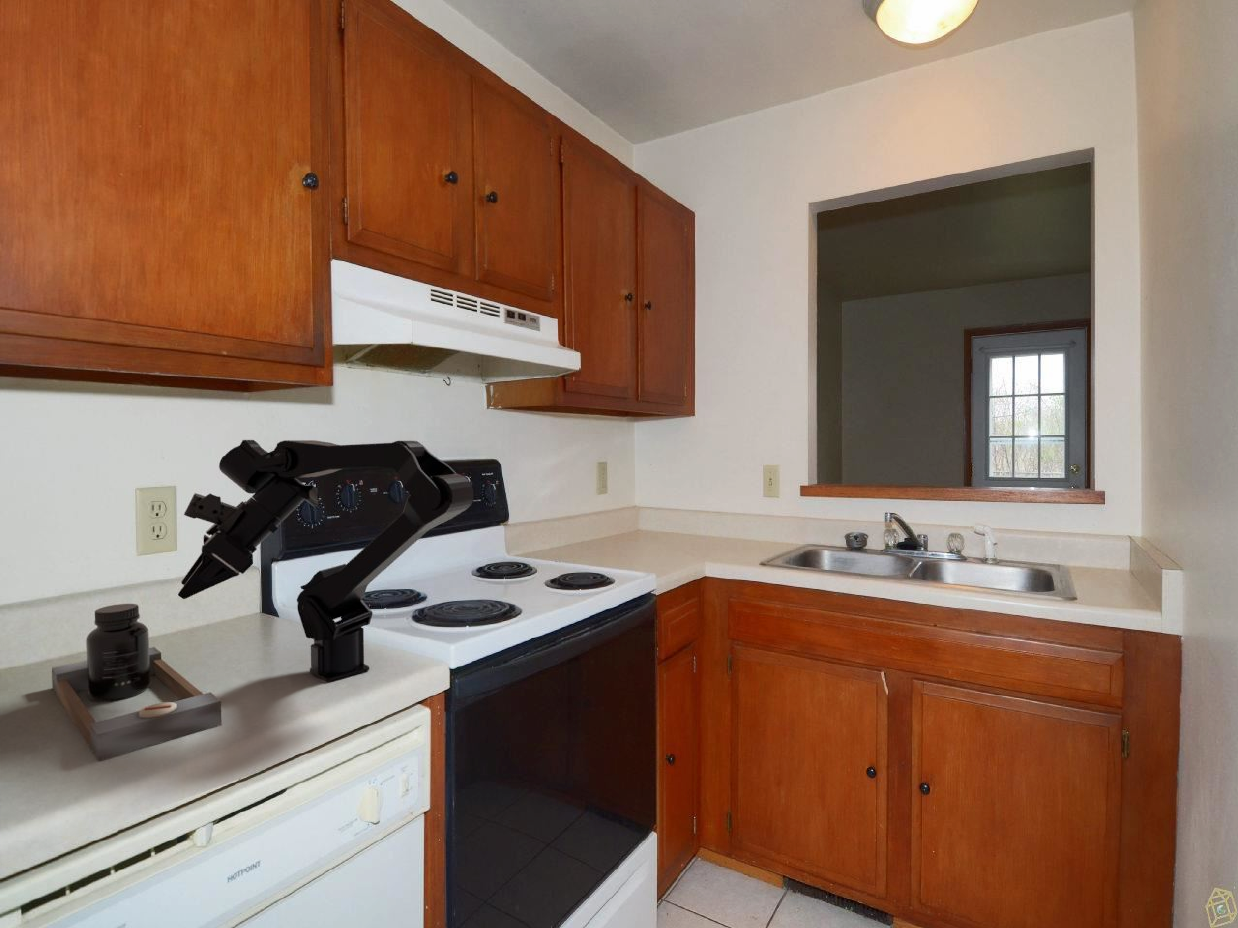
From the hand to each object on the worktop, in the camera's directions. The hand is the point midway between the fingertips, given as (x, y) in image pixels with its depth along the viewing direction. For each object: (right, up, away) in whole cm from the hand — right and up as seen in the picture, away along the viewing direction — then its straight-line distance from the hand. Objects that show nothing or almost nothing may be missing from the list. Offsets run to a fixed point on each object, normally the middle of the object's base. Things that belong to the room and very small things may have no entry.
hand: (182, 590), depth 92 cm
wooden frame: (-2, -14, -7) cm, 16 cm away
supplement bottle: (-6, -14, -3) cm, 16 cm away
